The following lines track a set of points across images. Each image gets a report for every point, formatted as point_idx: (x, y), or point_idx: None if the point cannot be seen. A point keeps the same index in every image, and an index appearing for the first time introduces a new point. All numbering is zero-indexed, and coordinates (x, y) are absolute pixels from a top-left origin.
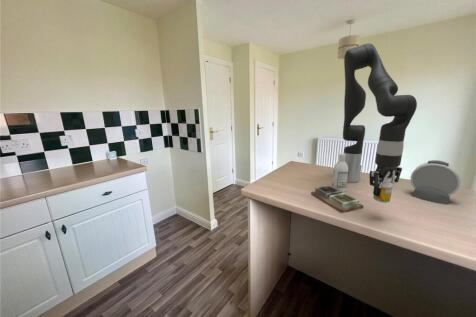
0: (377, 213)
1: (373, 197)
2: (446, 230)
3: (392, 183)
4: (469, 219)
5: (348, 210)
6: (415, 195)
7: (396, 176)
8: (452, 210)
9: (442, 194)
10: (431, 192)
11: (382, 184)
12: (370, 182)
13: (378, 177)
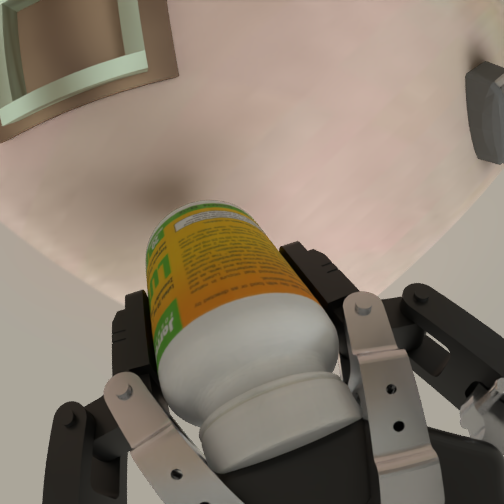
0: (213, 149)
1: (150, 241)
2: None
3: (339, 363)
4: (441, 234)
5: (50, 118)
6: (472, 88)
7: (433, 375)
8: (459, 188)
9: (501, 157)
10: (499, 133)
11: (196, 425)
12: (56, 449)
13: (225, 441)
